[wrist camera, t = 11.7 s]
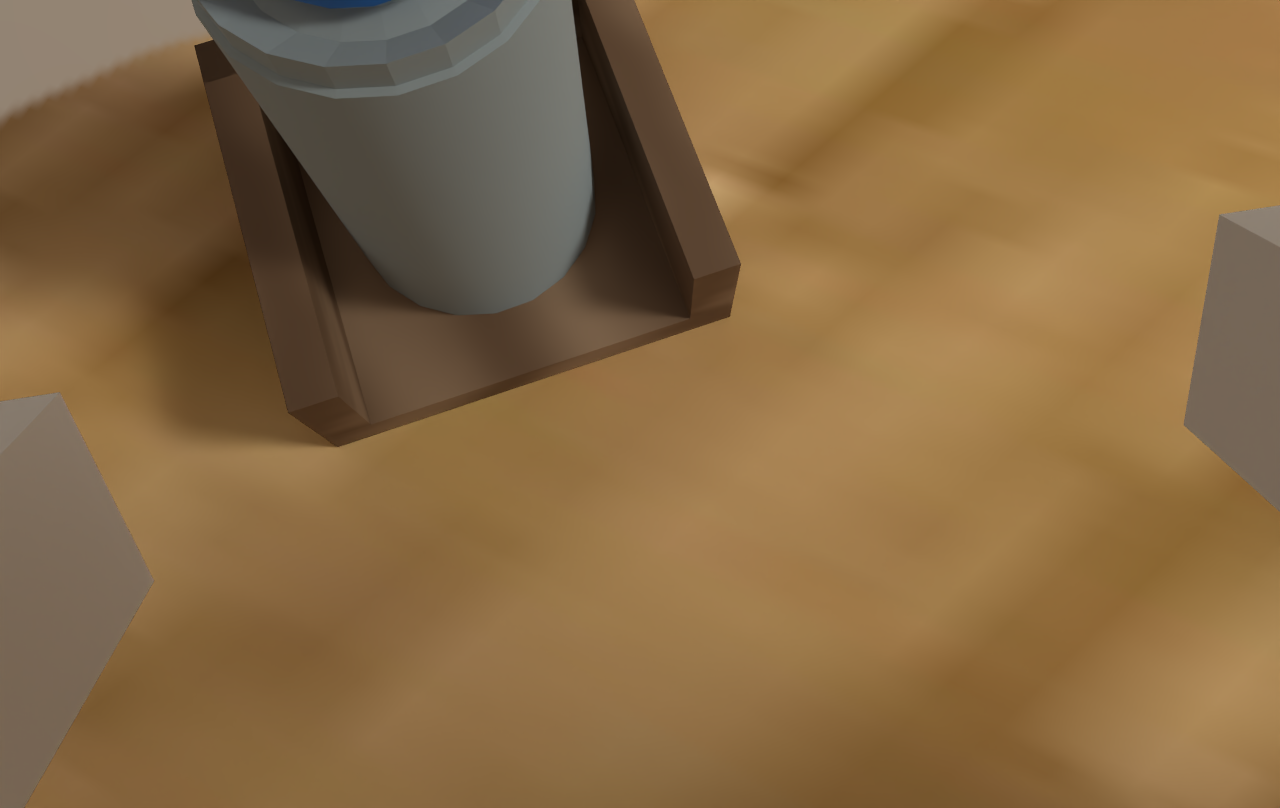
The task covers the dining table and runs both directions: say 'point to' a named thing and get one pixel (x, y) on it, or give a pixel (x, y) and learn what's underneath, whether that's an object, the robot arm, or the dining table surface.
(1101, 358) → the dining table surface
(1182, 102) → the dining table surface
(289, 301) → the rest
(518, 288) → the blue and grey bottle
